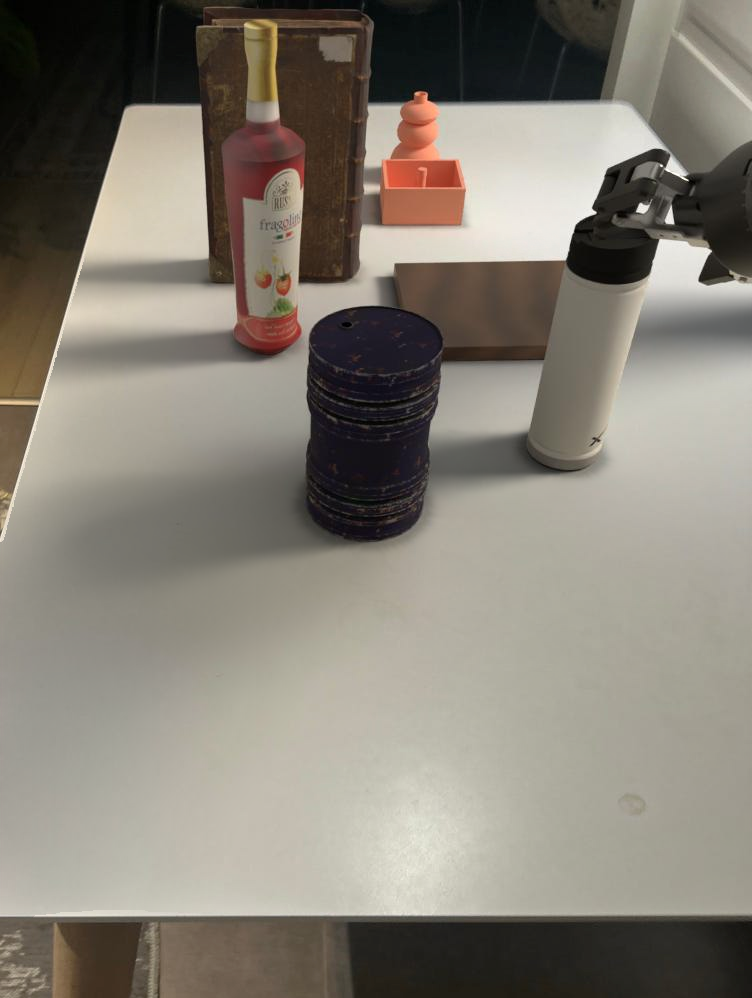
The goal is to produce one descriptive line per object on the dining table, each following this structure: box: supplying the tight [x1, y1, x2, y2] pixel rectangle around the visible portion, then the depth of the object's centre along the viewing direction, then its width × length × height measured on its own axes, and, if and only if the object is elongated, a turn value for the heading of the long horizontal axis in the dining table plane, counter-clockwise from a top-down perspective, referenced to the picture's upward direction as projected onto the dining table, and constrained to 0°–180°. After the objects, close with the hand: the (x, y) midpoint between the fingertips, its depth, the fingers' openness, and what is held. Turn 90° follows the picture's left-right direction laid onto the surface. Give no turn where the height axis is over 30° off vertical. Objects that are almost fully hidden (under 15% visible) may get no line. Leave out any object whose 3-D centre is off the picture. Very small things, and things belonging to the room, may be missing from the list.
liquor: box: [221, 20, 305, 355], centre depth 86 cm, size 7×7×28 cm
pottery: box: [379, 91, 467, 226], centre depth 118 cm, size 18×10×10 cm, turn 178°
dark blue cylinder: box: [304, 305, 444, 543], centre depth 73 cm, size 10×10×15 cm
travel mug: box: [526, 211, 667, 471], centre depth 76 cm, size 6×7×20 cm
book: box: [195, 6, 375, 283], centre depth 98 cm, size 17×7×25 cm, turn 82°
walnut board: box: [393, 259, 566, 362], centre depth 99 cm, size 20×18×2 cm
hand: (654, 245), depth 66 cm, fingers open, 8 cm apart
